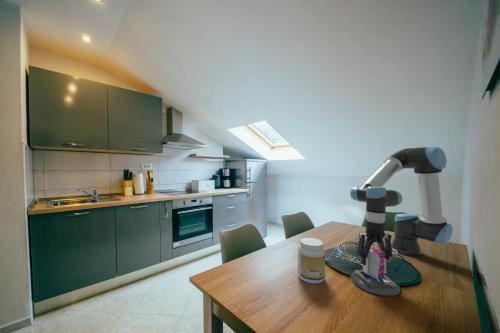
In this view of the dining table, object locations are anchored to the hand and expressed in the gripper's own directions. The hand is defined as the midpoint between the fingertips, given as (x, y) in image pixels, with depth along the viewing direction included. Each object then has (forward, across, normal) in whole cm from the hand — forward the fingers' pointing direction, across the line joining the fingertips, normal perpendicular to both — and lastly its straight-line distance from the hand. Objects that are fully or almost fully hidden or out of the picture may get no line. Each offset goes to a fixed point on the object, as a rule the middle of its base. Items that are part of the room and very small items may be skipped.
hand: (374, 271), depth 93 cm
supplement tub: (+6, +27, -5) cm, 28 cm away
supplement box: (+2, 0, 0) cm, 2 cm away
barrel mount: (+5, 0, 0) cm, 5 cm away
